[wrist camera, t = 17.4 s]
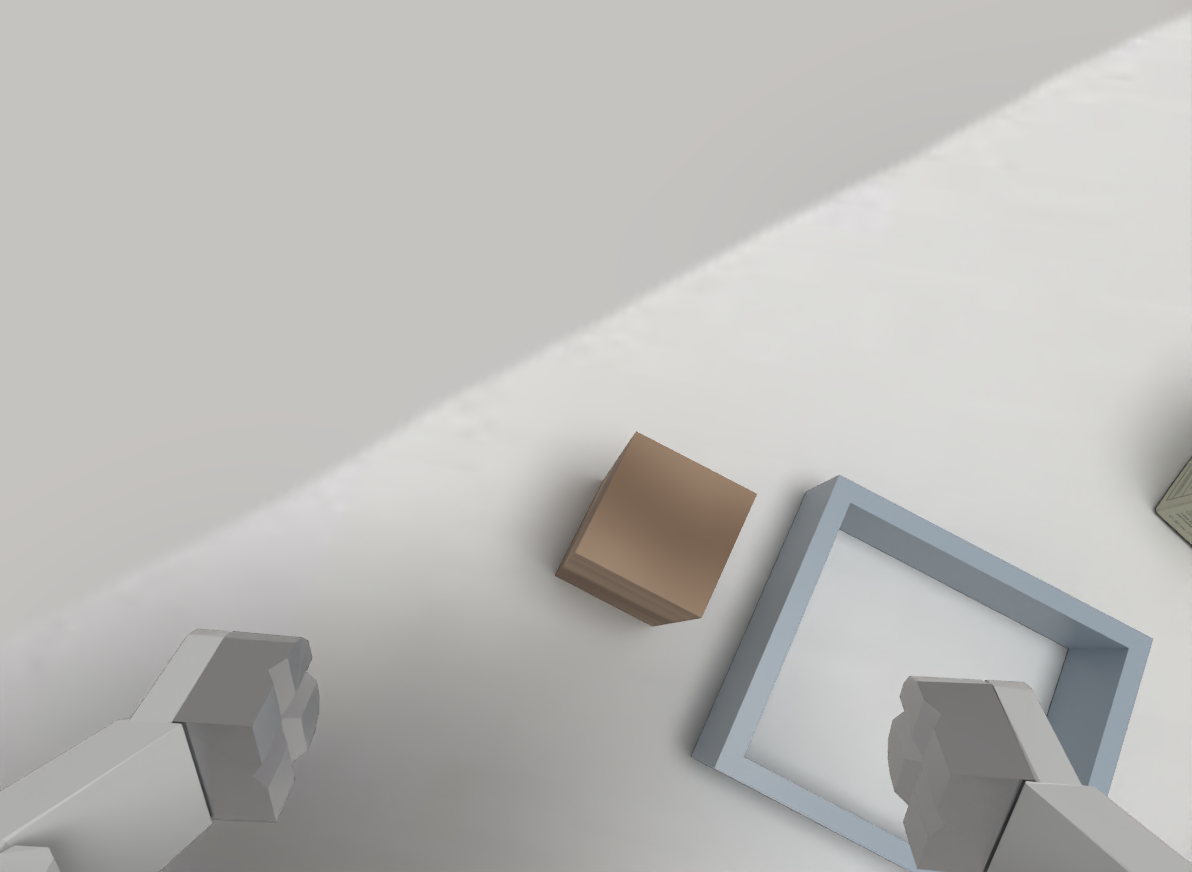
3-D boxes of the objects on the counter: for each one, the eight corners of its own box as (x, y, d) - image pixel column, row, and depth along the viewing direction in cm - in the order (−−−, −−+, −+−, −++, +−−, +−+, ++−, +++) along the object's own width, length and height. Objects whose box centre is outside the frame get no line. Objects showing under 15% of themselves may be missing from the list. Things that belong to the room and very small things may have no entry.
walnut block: (652, 626, 34) (701, 617, 26) (554, 575, 34) (575, 552, 26) (697, 529, 35) (756, 494, 28) (603, 480, 35) (636, 431, 28)
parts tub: (1003, 920, 33) (1062, 951, 30) (690, 756, 33) (714, 768, 30) (1091, 640, 36) (1153, 638, 33) (806, 491, 36) (839, 474, 33)
